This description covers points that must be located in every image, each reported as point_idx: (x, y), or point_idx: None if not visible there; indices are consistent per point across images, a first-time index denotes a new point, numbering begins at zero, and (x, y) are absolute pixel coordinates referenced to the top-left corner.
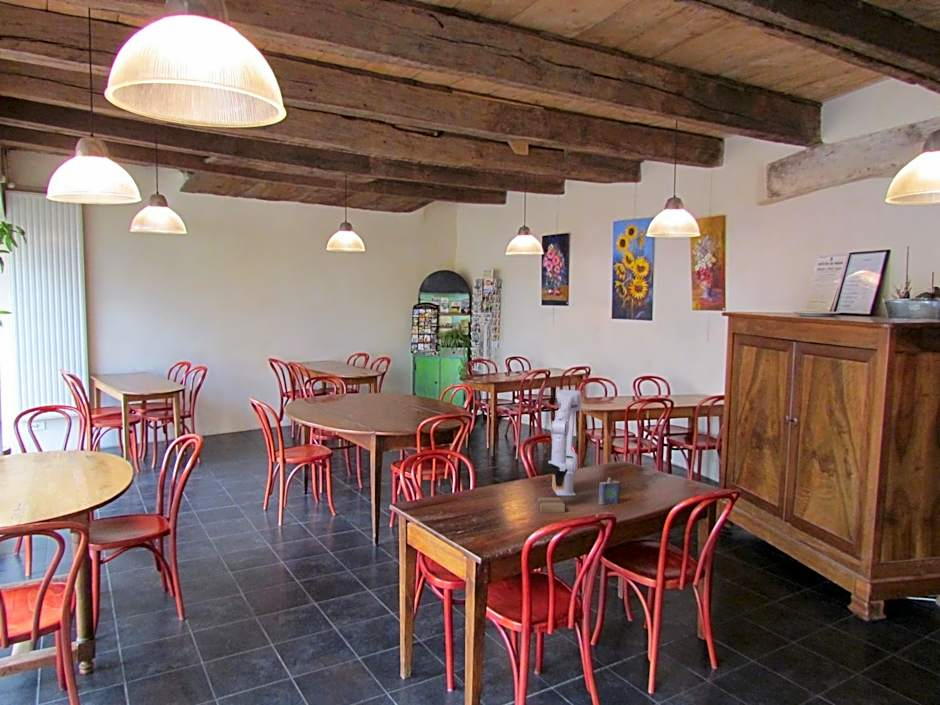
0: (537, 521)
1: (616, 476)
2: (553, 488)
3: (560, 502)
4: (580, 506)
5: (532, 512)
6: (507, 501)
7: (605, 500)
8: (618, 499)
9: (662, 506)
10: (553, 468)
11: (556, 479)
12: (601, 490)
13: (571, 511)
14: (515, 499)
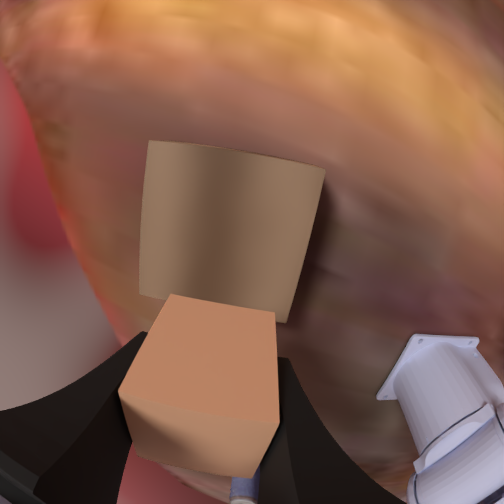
0: (58, 91)
1: None
2: (204, 302)
3: (185, 288)
4: None
5: (180, 85)
6: (404, 29)
7: None
8: None
9: (210, 492)
10: (12, 479)
11: (91, 374)
12: (234, 477)
13: None
14: (432, 86)
